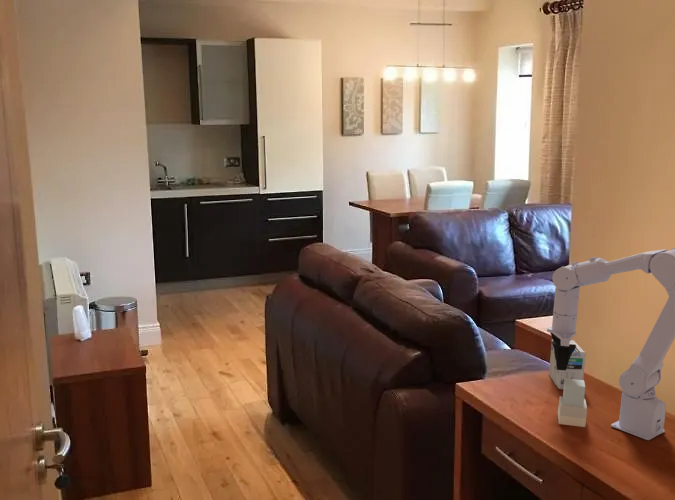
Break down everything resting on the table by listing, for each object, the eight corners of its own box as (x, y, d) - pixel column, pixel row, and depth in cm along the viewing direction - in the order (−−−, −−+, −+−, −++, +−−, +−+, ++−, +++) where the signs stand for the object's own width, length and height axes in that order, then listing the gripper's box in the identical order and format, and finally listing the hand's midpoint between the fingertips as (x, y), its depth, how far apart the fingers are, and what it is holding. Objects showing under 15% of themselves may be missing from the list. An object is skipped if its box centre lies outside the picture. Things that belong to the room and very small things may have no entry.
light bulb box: (583, 390, 198) (587, 352, 196) (557, 389, 198) (561, 351, 196) (571, 375, 209) (575, 339, 207) (547, 375, 209) (550, 338, 207)
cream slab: (582, 418, 182) (583, 408, 181) (585, 428, 176) (586, 418, 175) (557, 415, 183) (558, 405, 182) (558, 425, 177) (559, 415, 177)
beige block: (584, 408, 181) (585, 399, 181) (586, 418, 175) (587, 408, 175) (558, 405, 182) (559, 396, 182) (559, 415, 177) (560, 405, 176)
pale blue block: (582, 399, 180) (584, 380, 179) (583, 406, 176) (585, 387, 175) (562, 397, 181) (564, 378, 180) (563, 404, 177) (565, 384, 176)
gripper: (547, 303, 192) (542, 353, 195) (550, 319, 178) (545, 372, 181) (575, 306, 191) (570, 356, 194) (580, 322, 177) (575, 375, 180)
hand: (560, 364), depth 187 cm, fingers open, 7 cm apart
